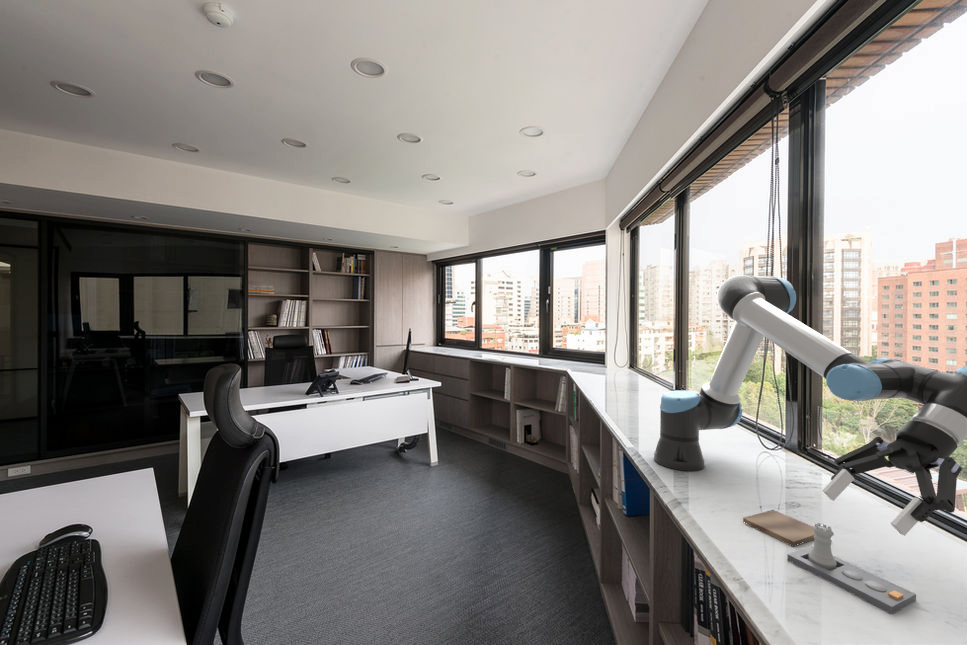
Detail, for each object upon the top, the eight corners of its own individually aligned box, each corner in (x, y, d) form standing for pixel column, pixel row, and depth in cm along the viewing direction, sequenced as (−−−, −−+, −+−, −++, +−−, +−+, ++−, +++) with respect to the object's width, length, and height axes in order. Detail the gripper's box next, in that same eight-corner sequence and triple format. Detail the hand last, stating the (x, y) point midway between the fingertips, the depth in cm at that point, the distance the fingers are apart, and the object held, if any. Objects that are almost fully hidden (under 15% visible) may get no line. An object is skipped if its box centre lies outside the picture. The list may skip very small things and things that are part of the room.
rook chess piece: (830, 576, 77) (831, 534, 77) (802, 563, 81) (803, 523, 81) (841, 570, 79) (842, 529, 79) (814, 557, 83) (815, 518, 83)
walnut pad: (743, 522, 97) (743, 517, 97) (772, 513, 101) (772, 509, 101) (793, 546, 87) (793, 541, 87) (823, 535, 91) (824, 531, 91)
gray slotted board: (787, 560, 82) (787, 552, 82) (811, 551, 85) (811, 543, 85) (891, 613, 67) (892, 604, 67) (915, 600, 71) (916, 591, 71)
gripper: (1035, 470, 68) (949, 563, 67) (879, 428, 93) (815, 496, 92) (1006, 438, 67) (920, 532, 66) (858, 405, 92) (793, 473, 91)
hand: (859, 511), depth 79 cm, fingers open, 13 cm apart
